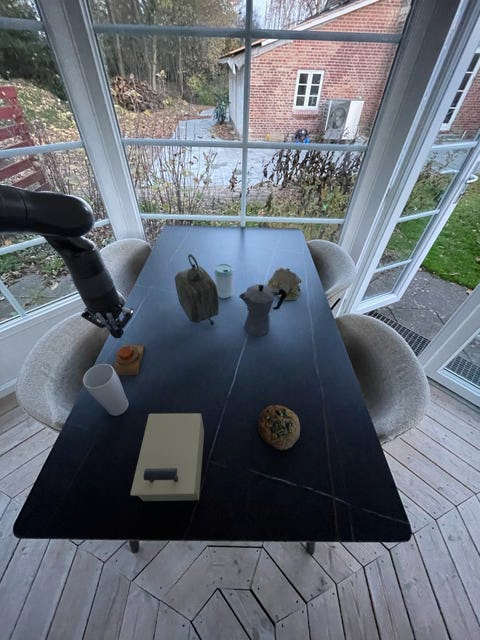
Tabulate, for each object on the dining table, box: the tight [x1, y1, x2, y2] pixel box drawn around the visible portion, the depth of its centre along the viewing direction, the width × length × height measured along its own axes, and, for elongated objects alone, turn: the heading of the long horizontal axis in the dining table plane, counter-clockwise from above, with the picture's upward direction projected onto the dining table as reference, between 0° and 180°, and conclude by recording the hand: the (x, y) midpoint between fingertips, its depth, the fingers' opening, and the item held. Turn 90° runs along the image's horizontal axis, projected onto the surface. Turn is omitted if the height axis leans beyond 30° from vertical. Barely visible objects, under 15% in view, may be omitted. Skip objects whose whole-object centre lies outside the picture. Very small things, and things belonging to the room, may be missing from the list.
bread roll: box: [256, 404, 301, 451], centre depth 66 cm, size 11×11×5 cm
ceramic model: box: [267, 267, 303, 301], centre depth 103 cm, size 14×11×10 cm
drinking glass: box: [82, 363, 130, 417], centre depth 65 cm, size 7×7×15 cm
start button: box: [119, 347, 134, 360], centre depth 78 cm, size 4×4×2 cm
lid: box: [129, 413, 202, 497], centre depth 52 cm, size 15×12×5 cm
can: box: [213, 263, 234, 299], centre depth 100 cm, size 7×7×12 cm
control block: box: [112, 344, 146, 376], centre depth 79 cm, size 10×7×4 cm
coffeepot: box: [238, 283, 287, 337], centre depth 86 cm, size 15×9×18 cm, turn 101°
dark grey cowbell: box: [174, 253, 220, 326], centre depth 86 cm, size 14×9×25 cm, turn 31°
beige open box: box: [138, 415, 205, 502], centre depth 58 cm, size 15×12×9 cm
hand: (118, 336), depth 72 cm, fingers closed
